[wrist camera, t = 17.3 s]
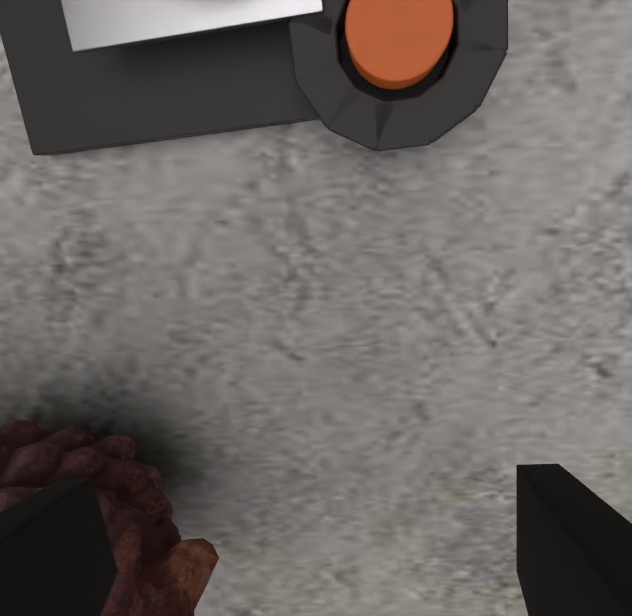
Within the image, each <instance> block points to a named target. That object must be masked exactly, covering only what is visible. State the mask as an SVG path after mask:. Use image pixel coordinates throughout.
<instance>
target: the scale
mask: <svg viewBox="0 0 632 616" xmlns="http://www.w3.org/2000/svg"><path fill="white" fill-rule="evenodd" d="M451 1H452V6H453V28H452V33H451V37H450V40H449V42H448V45H447V47H446V49H445V51H444V53H443V54H442V56H441V57H440V59H439V60H438V62H437V63H436V64H435V66H434V67H433V69H432V70H431V71H430V72H429V73H428V75H427V76H425V77H424V78H423V79H422V80H420V81H419V82H418V83H416V84H414V85H412V86H409V87H407V88H403V89H396V90H390V89H383V88H380V87H377V86H375V85H373V84H371V83H369V82H368V81H367V80H365V79H364V78H363V77H362V76H361V75H360V73H359V72H358V71H357V69H356V68H355V66H354V64H353V62H352V59H351V56H350V53H349V48H348V44H347V40H346V34H345V18H346V12H347V8H348V5H349V2H350V0H323V3H324V14H321V15H315V16H309V17H303V18H297V19H291V20H284V21H278V22H272V23H266V24H260V25H254V26H248V27H242V28H236V29H229V30H223V31H217V32H211V33H205V34H199V35H193V36H187V37H181V38H175V39H168V40H162V41H156V42H150V43H144V44H138V45H132V46H126V47H120V48H113V49H107V50H101V51H95V52H89V53H83V54H77V53H74V52H73V51H72V47H71V43H70V38H69V34H68V30H67V25H66V21H65V17H64V12H63V8H62V4H61V0H0V33H1V37H2V41H3V44H4V48H5V52H6V56H7V59H8V63H9V67H10V71H11V74H12V78H13V82H14V86H15V89H16V93H17V97H18V101H19V104H20V108H21V112H22V116H23V119H24V123H25V127H26V131H27V134H28V138H29V142H30V145H31V149H32V153H33V155H56V154H64V153H71V152H79V151H86V150H94V149H101V148H109V147H116V146H124V145H131V144H139V143H146V142H154V141H161V140H169V139H176V138H184V137H191V136H199V135H206V134H214V133H221V132H229V131H236V130H244V129H251V128H259V127H266V126H274V125H281V124H289V123H296V122H304V121H311V120H319V119H321V121H322V122H323V124H324V125H325V127H327V128H328V129H329V130H330V131H332V132H334V133H336V134H338V135H341V136H343V137H345V138H347V139H349V140H352V141H354V142H356V143H358V144H360V145H363V146H365V147H367V148H369V149H371V150H374V151H384V150H392V149H401V148H409V147H417V146H424V145H429V144H430V143H432V142H435V141H436V140H437V139H439V138H440V137H441V136H443V135H444V134H446V133H447V132H448V131H450V130H451V129H452V128H454V127H455V126H456V125H458V124H459V123H460V122H462V121H463V120H465V119H466V118H467V117H469V116H470V115H471V114H473V113H474V112H475V111H476V110H477V108H479V107H480V106H481V104H482V102H483V100H484V98H485V96H486V94H487V92H488V90H489V88H490V86H491V84H492V82H493V80H494V78H495V76H496V74H497V72H498V70H499V68H500V66H501V64H502V62H503V60H504V58H505V56H506V51H507V49H508V0H451Z"/></svg>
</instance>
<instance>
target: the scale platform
mask: <svg viewBox="0 0 632 616" xmlns="http://www.w3.org/2000/svg"><path fill="white" fill-rule="evenodd" d="M61 4H62V8H63V12H64V17H65V21H66V25H67V30H68V34H69V38H70V43H71V47H72V51H73V52H74V53H77V54H83V53H89V52H95V51H101V50H107V49H113V48H120V47H126V46H132V45H138V44H144V43H150V42H156V41H162V40H168V39H175V38H181V37H187V36H193V35H199V34H205V33H211V32H217V31H223V30H229V29H236V28H242V27H248V26H254V25H260V24H266V23H272V22H278V21H284V20H291V19H297V18H303V17H309V16H315V15H321V14H324V3H323V0H61Z"/></svg>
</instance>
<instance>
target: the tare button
mask: <svg viewBox="0 0 632 616" xmlns="http://www.w3.org/2000/svg"><path fill="white" fill-rule="evenodd" d="M452 28H453V6H452V1H451V0H350V2H349V5H348V8H347V12H346V18H345V34H346V40H347V44H348V48H349V53H350V56H351V59H352V62H353V64H354V66H355V68H356V69H357V71H358V72H359V73H360V75H361V76H362V77H363V78H364V79H365V80H367V81H368V82H369V83H371V84H373V85H375V86H377V87H380V88H383V89H390V90H396V89H403V88H407V87H409V86H412V85H414V84H416V83H418V82H419V81H420V80H422V79H423V78H424V77H425V76H427V75H428V73H429V72H430V71H431V70H432V69H433V67H434V66H435V64H436V63H437V62H438V60H439V59H440V57H441V56H442V54H443V53H444V51H445V49H446V47H447V45H448V42H449V40H450V37H451V33H452Z"/></svg>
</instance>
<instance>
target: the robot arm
mask: <svg viewBox="0 0 632 616" xmlns="http://www.w3.org/2000/svg"><path fill="white" fill-rule="evenodd" d="M117 574H118V568H117V565H116V561H115V558H114V554H113V551H112V547H111V544H110V540H109V537H108V533H107V530H106V526H105V523H104V519H103V516H102V512H101V509H100V505H99V502H98V498H97V495H96V491H95V488H94V484H93V481H92V478H90V479H60V480H58V481H56V482H54V483H52V484H50V485H48V486H46V487H44V488H42V489H40V490H38V491H37V492H35V493H33V494H31V495H29V496H27V497H26V498H24V499H22V500H20V501H19V502H17V503H15V504H13V505H12V506H10V507H8V508H7V509H5V510H3V511H1V512H0V616H100V615H101V613H102V610H103V608H104V606H105V604H106V601H107V599H108V596H109V594H110V591H111V589H112V586H113V584H114V581H115V579H116V576H117ZM517 574H518V577H519V581H520V585H521V589H522V593H523V596H524V600H525V604H526V608H527V611H528V615H529V616H632V524H631V523H630V522H629V521H628V520H626V519H625V518H624V517H623V516H622V515H620V514H619V513H618V512H617V511H615V510H614V509H613V508H612V507H610V506H609V505H608V504H607V503H606V502H604V501H603V500H602V499H601V498H599V497H598V496H597V495H596V494H595V493H593V492H592V491H591V490H590V489H589V488H587V487H586V486H585V485H584V484H583V483H581V482H580V481H579V480H578V479H576V478H575V477H574V476H573V475H572V474H570V473H569V472H568V471H567V470H565V469H564V468H563V467H562V466H560V465H559V464H532V465H517Z"/></svg>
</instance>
